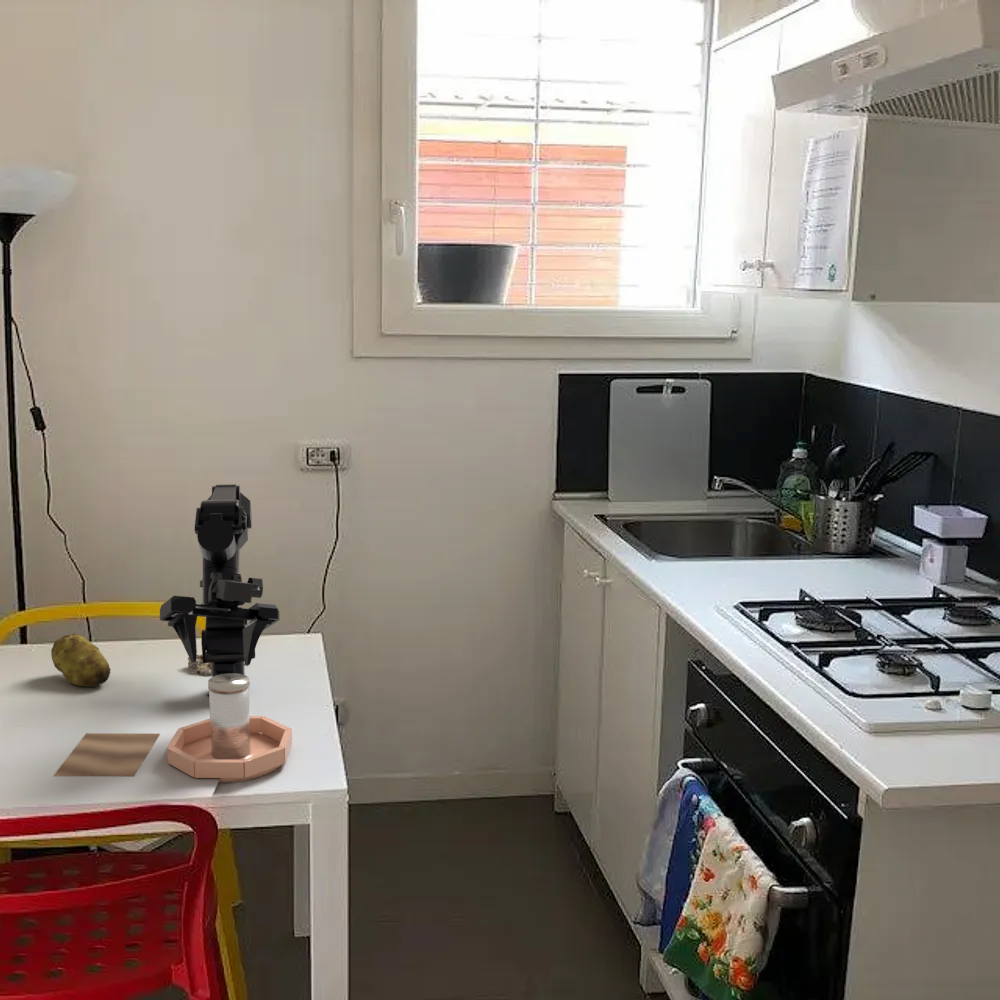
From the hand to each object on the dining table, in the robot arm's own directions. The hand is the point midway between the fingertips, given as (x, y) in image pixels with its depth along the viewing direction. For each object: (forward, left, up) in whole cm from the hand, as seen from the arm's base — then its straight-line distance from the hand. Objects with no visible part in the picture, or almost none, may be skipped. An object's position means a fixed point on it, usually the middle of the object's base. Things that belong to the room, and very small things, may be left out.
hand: (221, 663), depth 198 cm
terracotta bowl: (+9, +3, -12) cm, 16 cm away
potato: (-25, -31, -13) cm, 42 cm away
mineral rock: (-32, -8, -13) cm, 35 cm away
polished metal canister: (+9, +3, -11) cm, 15 cm away
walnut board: (+9, -16, -12) cm, 22 cm away
